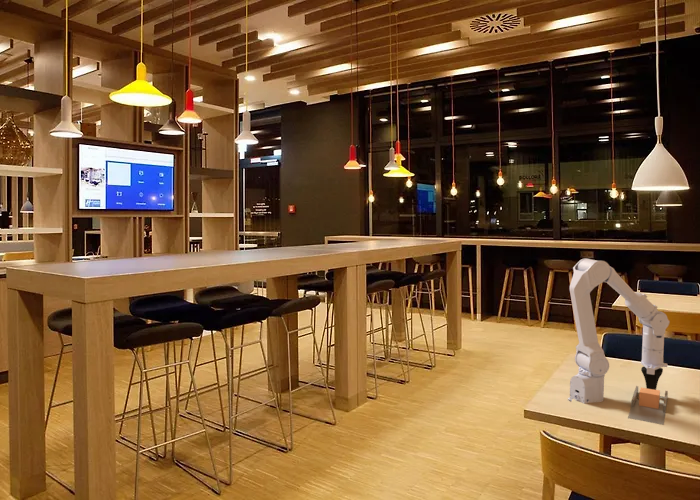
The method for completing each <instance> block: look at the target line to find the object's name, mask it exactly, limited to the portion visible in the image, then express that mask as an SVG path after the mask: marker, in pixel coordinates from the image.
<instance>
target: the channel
mask: <svg viewBox="0 0 700 500" xmlns="http://www.w3.org/2000/svg"><path fill="white" fill-rule="evenodd" d="M668 394H669V392H668V390H665V392H664V396H661V395H660V398H662V399H663V402H660V403H659V409H657V408H651V407H645V406H640V405H639V398H638V395H639V386H638V385H636V386H635V389H634V392H633V394H632V398H631V403H630V404H631V405H630V410H629V413H628V416H627V419H631V420H636V421H640V422H647V423H653V424H656V425H657V424H658V425H665V418H666V410H667V404H668V396H669V395H668Z"/></svg>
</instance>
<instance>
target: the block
mask: <svg viewBox="0 0 700 500" xmlns="http://www.w3.org/2000/svg"><path fill="white" fill-rule="evenodd" d="M638 393H639V394H638V395H639V397H638V399H639V405H640V406H645V407H651V408H657V409H659V403H661V401H660V400H661V399H660V398H661V397H660V396H661V390H659V389H656V390H654V389H647V388H646V387H640V389H639V391H638Z"/></svg>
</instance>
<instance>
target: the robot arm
mask: <svg viewBox="0 0 700 500" xmlns="http://www.w3.org/2000/svg"><path fill="white" fill-rule="evenodd" d="M572 270H573V274H572V278H571V280H570V284H569V293H570V299H571V306H572V311H573V318H574V321H575V328H576V333H577V338H578V344H577V345H576V346H575V350H576V351H575V352H576V353H575V356H574V362H575V364H576V365H577V367H578V372H577V374H575V375H573V376H572V377H571V378H570V382H569V397H567V400H568V401H573V400H575V401H577V402H579V403H582V404H585V405H587V404H591V403H600V402H601V403H602V402H604V396H605V395H604V394H605V392H604V391H605V376H606V374H607V373H608V371H609V369H610V362H609V360H608V358H607V357H606V356H605V351H604V349H603V348H602V347H601V345H600V343H599V338H598V333H597V328H596V323H595V316H594V311H593V305H592V300H591V295H590V294H591V292H592V291H593V290H594V289H595V288H596V287H598V286H599V285H601V284H602V283H607V285H609V287H611V288H612V289H613V290H615V292H617V293H618V294H619V295H620V296H621V297H622V298H623V299H624V304H625V306H626V307H627V308H628V309H629V310H630V311H631V312H632V313H633V314H634V315H635V316H636V317H637V318H638V321H639V324H641V325H642V344H641V345H642V346H641V360H640V364H641V366H642V367H641V369H640V370H641V373H642V375H643V378H644V381H645V388H647V389H654V390H657V386H658V382H659V380H660V377H661V376H662V374H663V371H664V369H663V368H667V367H668V363H665V362H664V351H665V350H664V346H665V334H666V330H667V328H668V327H669V325H670V322H671V321H670V320H669V318H668V315H667V314H666V313H665V312H663V311H661V310H658V306H657V305H656V304H653V303H652V302H651V301H650V300H649V299H648V295H647V294H646V293H642V292H638V291H634V290H633V289H632V288H631V287H630V286H629V285H628V284H627V283H626V281H625V280H624V279H623V278H622V277H621V276H620V275H619V274H618V272H617V271H616V270H615V268H614V267H612V266H610V264H609V263H608V262H607V261H605V260H595V259H591V258H587V257H586V258H582V259H580V260H579V261H577V263H576V264H575V265H574V266H573V267H572Z"/></svg>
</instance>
